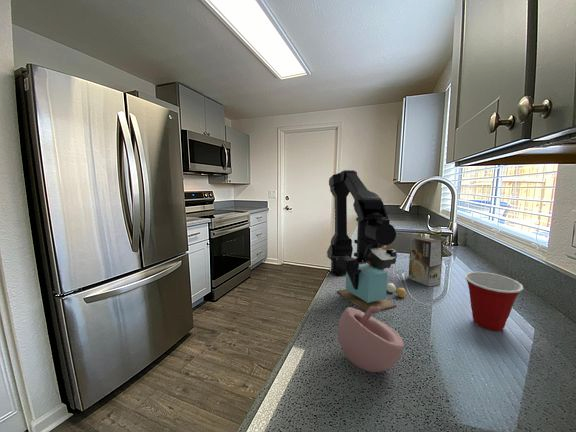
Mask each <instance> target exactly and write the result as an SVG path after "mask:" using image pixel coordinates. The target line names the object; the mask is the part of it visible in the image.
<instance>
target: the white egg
mask: <svg viewBox="0 0 576 432" xmlns="http://www.w3.org/2000/svg"><path fill="white" fill-rule="evenodd" d="M396 287H397V286H396V285H395V284H394V283H392V282H387V291H386V292H387V293H394V292H396V290H397V288H396Z"/></svg>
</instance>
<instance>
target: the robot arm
mask: <svg viewBox="0 0 576 432" xmlns="http://www.w3.org/2000/svg"><path fill="white" fill-rule="evenodd" d="M328 185H329V189H330V190H329V191H330V193H331V195H332V196H333V198H334V234H333V236H332V238H331V240H330V245H329V247H328V249H327V251H326V256H327V258H328V259H329V260H330V269H327V272H329V273H331V274H332V275H334V276H336V277H340V276H346V272H347V274H348V276H349V278H350V280H351V283H352V285H353V287H354V289H355V290H357V288H358V278H359V273H360V272H361V271H362V270H360V269H359V264H365V263H366V264H368V263H370V265H371V266H373V267H376V268H377V269H381V270H383V271H385V269H390V268H391V267H392V265H395V264H396V262H397V259H398V258H397V254H398V253H397V250H395V249H394V248H391V249H389V248H388V249H386V250H383V249H381V245H387V246H389V245H391V244H392V243H393V242H394V241H395V240H396V238H397V231H396V229H395V227H394V226H393V225H392V224H390V221H391V220H390V219H389V216H388V215H389V214H388V212H387V209H386V207H385V204H384V201H383V200H382V198H381V197H380V196H379V195H378V194H377V193H376V192H373V191H370V190H369V189H368V188H367V186H366V185H365V184H364V183H363V181H362V180H361V179H360V177H359V175H358V172H357V171H355V170H349V169H345V170H341V171H340V172H338V173H335V174H333V175H331V176H330V177H329V180H328ZM349 194H351V196H352V198H353V200H354V202H353V209H354V212H355V214H356V216H357V217H356V218H355V221H356V222H357V233H356V234H357V235H356V238H357V239H354V240H352V238H350V236H349V235H348V217H347V216H348V212H347V211H348V204H347V203H348V201H347V199H348V196H349ZM353 243H354V244H356V251H355V252H353V251H354V248H353ZM352 256H354V257H352ZM330 270H331V271H330Z"/></svg>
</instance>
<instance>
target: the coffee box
mask: <svg viewBox="0 0 576 432" xmlns="http://www.w3.org/2000/svg"><path fill="white" fill-rule="evenodd" d="M409 241H410V243H409V245H410V246H409V256H408V257H409V258H408V259H409V260H408V261H409V262H408V279H410V280H412V281H415V282H417V283H420V284H422V285H424V286H426V287H434V286H440V285H441V282H442V281H441V280H442V268H443V253H444V252H443V251H444V240H440V239H435V238H431V237H426V236H414V237H412V236H411V237H410V239H409Z"/></svg>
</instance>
